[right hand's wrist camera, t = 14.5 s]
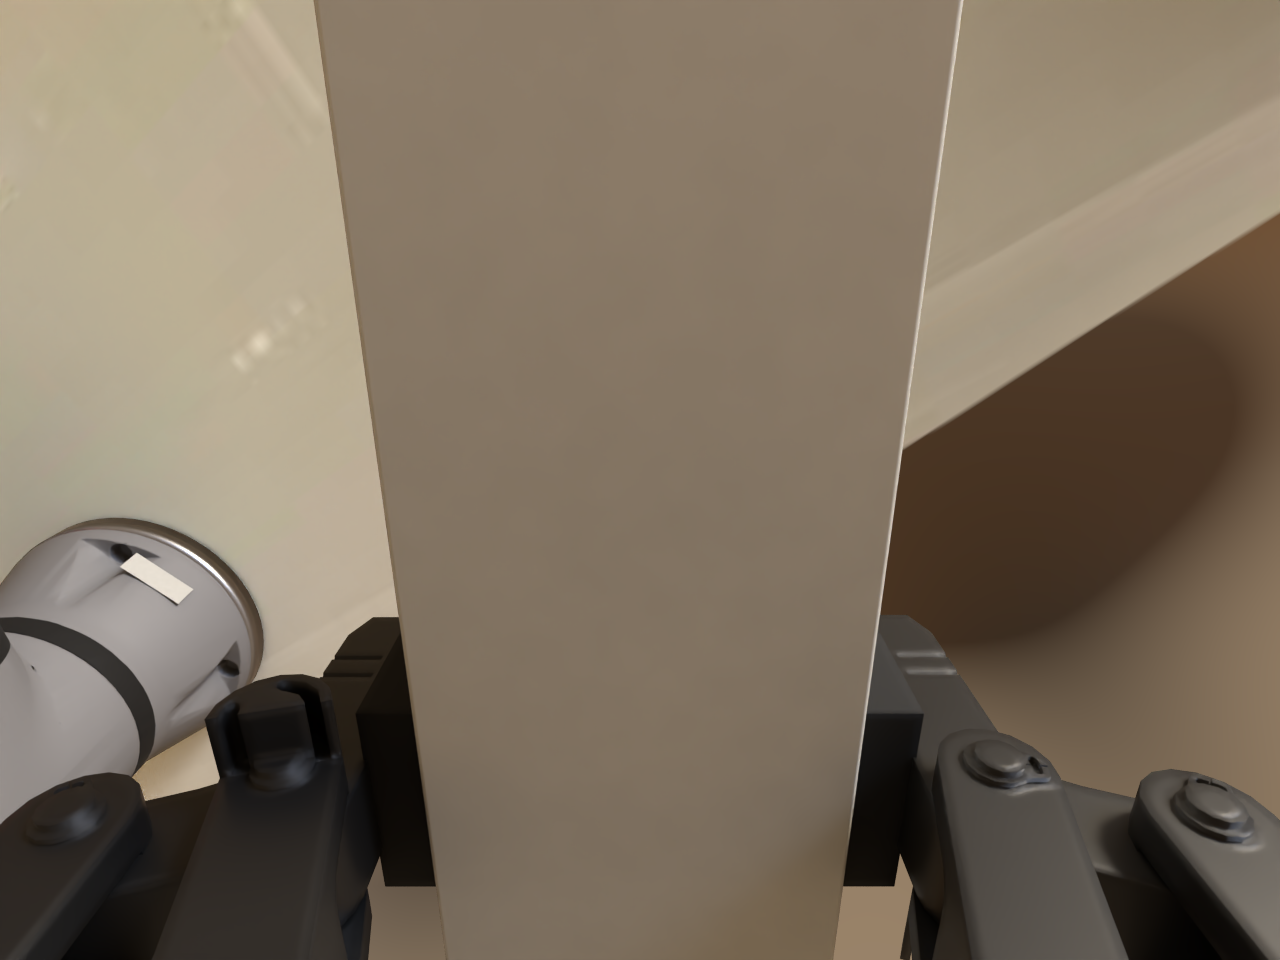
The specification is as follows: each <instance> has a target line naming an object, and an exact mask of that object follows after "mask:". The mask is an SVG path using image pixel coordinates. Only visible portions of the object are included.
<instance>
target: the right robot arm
mask: <svg viewBox="0 0 1280 960" xmlns="http://www.w3.org/2000/svg"><path fill="white" fill-rule="evenodd" d="M263 643H264V640H263V630H262V624H261V620H260V617H259V614H258V611H257V608H256V606H255V604H254V601H253V599H252V598H251V596H250V594H249V592H248V591H247V589H246V588H245V586H244V585H243V583H242V582H241V580H240V579H239V578H238V577H237V575H236V574H235V573H234V572H233V571H232V570H231V569H230V568H229V567H228V566H227V565H226V564H225V563H224V562H223V561H222V560H221V559H220V558H219V557H218V556H216V555H215V554H214V553H212V552H211V551H210V550H209V549H207V548H206V547H204V546H203V545H201V544H200V543H198V542H197V541H195V540H193V539H191V538H189V537H187V536H186V535H184V534H181V533H179V532H177V531H175V530H172V529H170V528H167V527H164V526H161V525H158V524H154V523H151V522H146V521H141V520H136V519H126V518H104V519H96V520H90V521H86V522H82V523H79V524H76V525H73V526H71V527H68V528H66V529H64V530H63V531H61V532H59V533H57V534H55V535H54V536H52V537H50V538H48V539H47V540H45V541H43V542H41V543H40V544H38V545H37V546H35V547H34V548H33V549H31V550H30V551H29V552H28V553H27V554H26V555H25V556H24V557H23V558H22V559H21V560H20V561H19V562H18V563H17V564H16V565H15V566H14V568H13V569H12V570H11V571H10V573H9V574H8V575H7V577H6V578H5V579H4V581H3V582H2V583H1V584H0V960H368V954H369V943H370V932H371V921H372V913H371V906H370V900H369V895H368V889H367V887H368V884H369V882H370V879H371V877H372V874H373V872H374V869H375V867H376V864H377V862H378V859H379V857H380V859H381V864H382V870H383V876H384V882H385V886H436V883H435V876H434V868H433V861H432V854H431V847H430V839H429V832H428V825H427V818H426V810H425V803H424V796H423V789H422V781H421V774H420V767H419V760H418V752H417V745H416V738H415V731H414V723H413V716H412V709H411V702H410V694H409V687H408V680H407V673H406V665H405V658H404V651H403V644H402V636H401V629H400V622H399V617H373V618H372V619H370V620H369V621H367V622H366V623H365V624H363V625H362V626H360V627H359V628H358V629H356V630H355V631H354V632H352V633H351V634H349V635H348V637H347V638H346V640H345V641H344V643H343V644H342V646H341V647H340V649H339V650H338V652H337V653H336V655H335V660H332V661H331V662H330V664H329V665H328V667H327V668H326V670H325V671H324V673H323V677H320V679H319V678H315V677H311V676H307V675H303V674H296V675H279V676H275V677H271V678H266V679H262V680H258V681H255V682H253V683H252V681H253V680H254V678H255V676H256V674H257V672H258V670H259V667H260V664H261V660H262V655H263ZM204 727H207V731H208V735H209V739H210V742H211V746H212V750H213V754H214V757H215V761H216V765H217V769H218V772H219V776H220V779H219V782H218V783H217V784H213V785H210V786H207V787H203V788H200V789H196V790H192V791H188V792H183V793H179V794H174V795H170V796H166V797H161V798H157V799H153V800H148V801H145V800H144V796H143V793H142V790H141V787H140V784H139V783H138V782H136V781H135V780H134V779H133V778H132V776H133V775H134V774H135V773H136V772H137V771H138V770H139V769H140V768H141V766H142V765H143V764H144V763H145V762H146V761H148V760H149V759H151V758H153V757H154V756H156V755H158V754H160V753H161V752H163V751H165V750H166V749H168V748H170V747H172V746H173V745H175V744H177V743H178V742H180V741H182V740H184V739H185V738H187V737H189V736H190V735H192V734H194V733H195V732H197V731H199V730H201V729H202V728H204ZM900 854H901V857H902V859H903V862H904V864H905V867H906V869H907V872H908V874H909V877H910V879H911V882H912V884H913V889H912V895H911V900H910V905H909V911H908V916H907V922H906V927H905V932H904V938H903V943H902V950H901V956H900V959H903V960H910V955H911V952H912V960H1280V820H1279V819H1278V818H1277V817H1276V816H1275V815H1274V814H1272V813H1271V812H1270V811H1269V810H1267V809H1266V808H1265V807H1264V806H1262V805H1261V804H1260V803H1258V802H1257V801H1256V800H1255V799H1253V798H1252V797H1251V796H1249V795H1247V794H1245V793H1243V792H1241V791H1240V790H1238V789H1236V788H1234V787H1232V786H1230V785H1228V784H1227V783H1225V782H1222V781H1219V780H1216V779H1214V778H1210V777H1208V776H1205V775H1201V774H1199V773H1195V772H1188V771H1180V770H1174V769H1169V770H1162V771H1156V772H1151V773H1150V774H1149V775H1148V776H1146V777H1145V778H1144V779H1143V780H1142V781H1141V782H1140V785H1139V788H1138V791H1137V795H1136V798H1131V797H1127V796H1123V795H1119V794H1114V793H1110V792H1105V791H1101V790H1097V789H1092V788H1088V787H1083V786H1080V785H1076V784H1073V783H1070V782H1066V781H1063V780H1061V778H1060V776H1059V775H1058V773H1057V772H1056V770H1055V768H1054V767H1053V766H1052V764H1051V762H1050V761H1049V760H1048V759H1047V758H1045V757H1044V756H1043V755H1042V754H1041V753H1039V752H1038V751H1037V750H1036V749H1034V748H1033V747H1032V746H1030V745H1028V744H1026V743H1024V742H1022V741H1020V740H1018V739H1016V738H1014V737H1012V736H1010V735H1006V734H1003V733H999V732H998V731H997V730H996V728H995V727H994V725H993V724H992V722H991V721H990V719H989V718H988V716H987V715H986V713H985V712H984V710H983V709H982V707H981V706H980V704H979V703H978V701H977V700H976V698H975V697H974V695H973V694H972V692H971V691H970V689H969V688H968V686H967V685H966V684H965V682H964V681H963V679H962V678H961V676H960V675H957V670H956V669H955V667H954V666H953V664H952V663H951V661H950V660H949V658H948V657H945V652H944V651H943V649H942V648H941V646H940V645H939V643H938V642H937V640H936V639H935V638H934V636H933V635H932V633H931V632H930V631H928V630H927V629H925V628H924V627H923V626H921V625H920V624H918V623H917V622H916V621H914V620H913V619H912V618H910V617H909V616H907V615H880V617H879V624H878V632H877V639H876V647H875V654H874V661H873V669H872V676H871V683H870V691H869V698H868V705H867V713H866V720H865V728H864V735H863V742H862V750H861V757H860V764H859V772H858V779H857V786H856V794H855V801H854V808H853V816H852V823H851V831H850V838H849V845H848V853H847V860H846V867H845V875H844V882H843V886H894V885H895V879H896V873H897V867H898V862H899V856H900Z"/></svg>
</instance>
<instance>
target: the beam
mask: <svg viewBox="0 0 1280 960" xmlns="http://www.w3.org/2000/svg"><path fill="white" fill-rule="evenodd" d="M314 6H315V13H316V20H317V28H318V35H319V42H320V49H321V57H322V64H323V71H324V78H325V86H326V93H327V100H328V107H329V115H330V122H331V129H332V136H333V144H334V151H335V158H336V165H337V173H338V180H339V187H340V194H341V202H342V209H343V216H344V223H345V231H346V238H347V245H348V252H349V260H350V267H351V274H352V281H353V289H354V296H355V303H356V310H357V318H358V325H359V332H360V339H361V347H362V354H363V361H364V368H365V376H366V383H367V390H368V397H369V405H370V412H371V419H372V426H373V434H374V441H375V448H376V455H377V463H378V470H379V477H380V484H381V492H382V499H383V506H384V513H385V521H386V528H387V535H388V542H389V550H390V557H391V564H392V571H393V579H394V586H395V593H396V600H397V607H398V615H399V622H400V629H401V636H402V644H403V651H404V658H405V665H406V673H407V680H408V687H409V694H410V702H411V709H412V716H413V723H414V731H415V738H416V745H417V752H418V760H419V767H420V774H421V781H422V789H423V796H424V803H425V810H426V818H427V825H428V832H429V839H430V847H431V854H432V861H433V868H434V876H435V883H436V890H437V897H438V905H439V912H440V919H441V926H442V934H443V941H444V948H445V955H446V960H833V956H834V948H835V941H836V934H837V926H838V919H839V912H840V904H841V897H842V889H843V882H844V875H845V867H846V860H847V853H848V845H849V838H850V831H851V823H852V816H853V808H854V801H855V794H856V786H857V779H858V772H859V764H860V757H861V750H862V742H863V735H864V728H865V720H866V713H867V705H868V698H869V691H870V683H871V676H872V669H873V661H874V654H875V647H876V639H877V632H878V624H879V617H880V610H881V602H882V595H883V588H884V580H885V573H886V566H887V558H888V551H889V543H890V536H891V529H892V521H893V514H894V507H895V499H896V492H897V485H898V477H899V470H900V462H901V455H902V448H903V440H904V433H905V426H906V418H907V411H908V404H909V396H910V389H911V382H912V374H913V367H914V359H915V352H916V345H917V337H918V330H919V323H920V315H921V308H922V301H923V293H924V286H925V278H926V271H927V264H928V256H929V249H930V242H931V234H932V227H933V220H934V212H935V205H936V198H937V190H938V183H939V175H940V168H941V161H942V153H943V146H944V139H945V131H946V124H947V117H948V109H949V102H950V94H951V87H952V80H953V72H954V65H955V58H956V50H957V43H958V36H959V28H960V21H961V13H962V6H963V0H314Z"/></svg>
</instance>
